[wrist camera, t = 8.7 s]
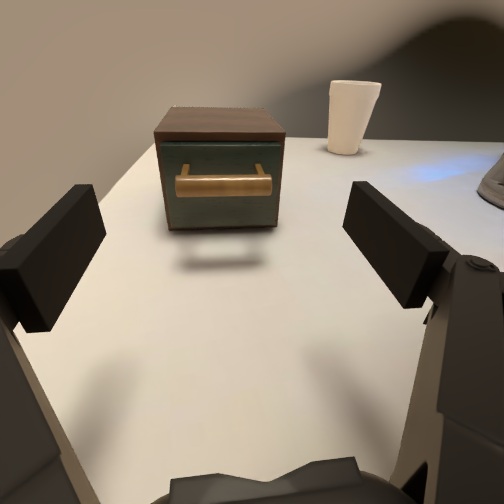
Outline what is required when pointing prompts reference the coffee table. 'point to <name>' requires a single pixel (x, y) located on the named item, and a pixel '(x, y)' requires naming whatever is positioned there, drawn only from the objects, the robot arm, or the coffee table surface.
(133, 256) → the coffee table surface
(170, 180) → the drawer
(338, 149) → the foam cup
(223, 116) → the cabinet
